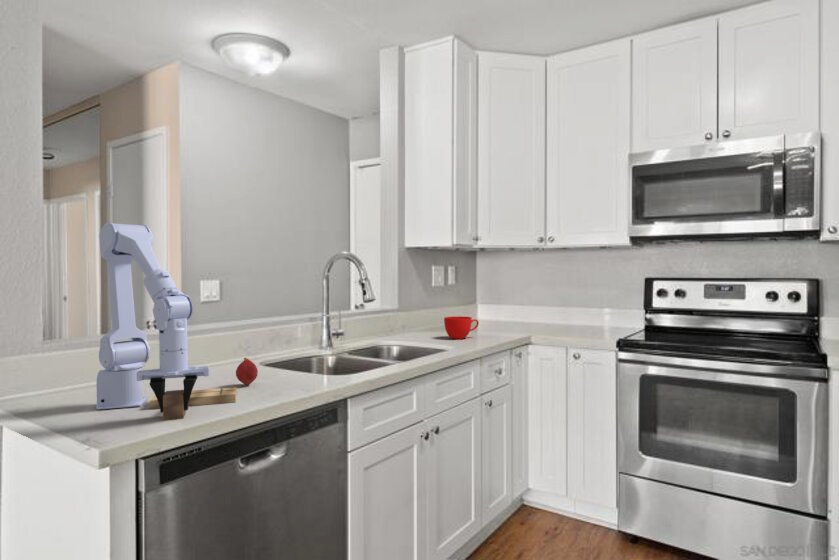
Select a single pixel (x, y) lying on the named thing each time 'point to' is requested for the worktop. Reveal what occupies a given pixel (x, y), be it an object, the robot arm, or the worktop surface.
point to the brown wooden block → (173, 405)
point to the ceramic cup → (459, 326)
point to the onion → (246, 372)
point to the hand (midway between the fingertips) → (174, 410)
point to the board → (205, 397)
